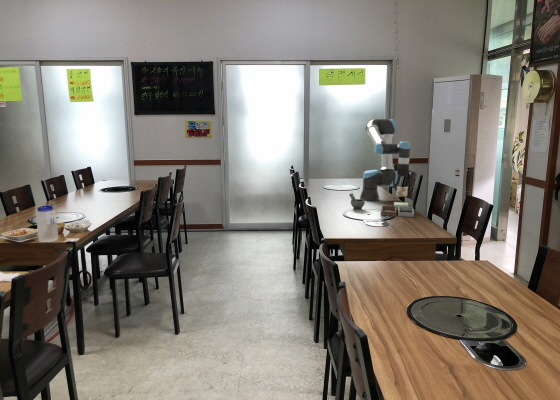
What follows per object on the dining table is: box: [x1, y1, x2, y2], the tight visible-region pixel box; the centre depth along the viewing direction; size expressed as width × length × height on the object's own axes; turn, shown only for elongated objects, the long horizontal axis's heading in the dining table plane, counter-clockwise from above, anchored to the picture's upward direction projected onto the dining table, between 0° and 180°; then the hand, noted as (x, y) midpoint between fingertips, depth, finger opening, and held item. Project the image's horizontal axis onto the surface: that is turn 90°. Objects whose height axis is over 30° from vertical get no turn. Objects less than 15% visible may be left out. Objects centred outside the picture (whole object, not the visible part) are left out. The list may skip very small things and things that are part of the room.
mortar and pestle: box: [349, 192, 366, 211], centre depth 323 cm, size 11×9×12 cm
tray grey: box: [397, 206, 415, 218], centre depth 313 cm, size 20×10×2 cm, turn 166°
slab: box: [393, 201, 410, 211], centre depth 329 cm, size 10×10×4 cm
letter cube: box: [396, 186, 407, 198], centre depth 327 cm, size 6×6×6 cm
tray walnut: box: [380, 205, 397, 217], centre depth 316 cm, size 20×10×2 cm, turn 166°
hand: (401, 195), depth 327 cm, fingers closed on letter cube, 6 cm apart
